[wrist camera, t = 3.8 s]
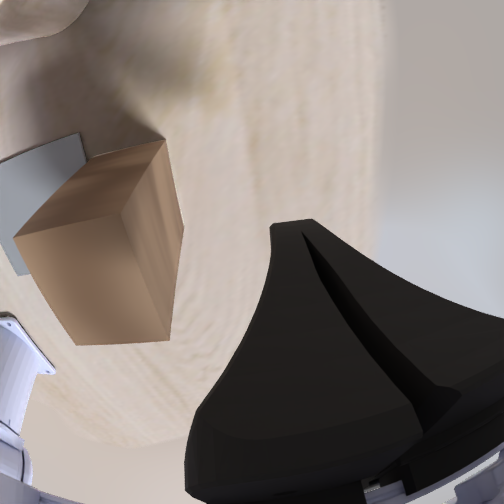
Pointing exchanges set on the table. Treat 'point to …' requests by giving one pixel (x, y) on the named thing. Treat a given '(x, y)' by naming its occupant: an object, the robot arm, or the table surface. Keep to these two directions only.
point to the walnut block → (110, 247)
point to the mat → (33, 187)
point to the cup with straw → (36, 18)
